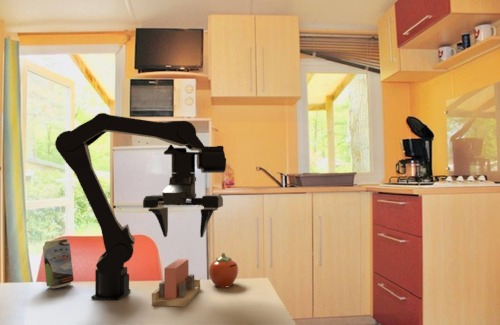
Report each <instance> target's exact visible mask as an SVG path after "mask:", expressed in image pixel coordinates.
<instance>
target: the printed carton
mask: <svg viewBox="0 0 500 325" xmlns="http://www.w3.org/2000/svg"><path fill="white" fill-rule="evenodd" d="M42 253H43V263H44V264H43V265H44V270H45V271H44V272H45V281H46V287H49V288H50V289H57V288H62V287H66V286H68V285H69V286H70V285H71V284H72V283H73V282H74V271H73V270H74V269H73V262H72V251H71V244H70V241H69V240H68V239H67V237H64V238H58V239H57V238H56V239H53V240H52V239H51V240H47V241H45V242H44V245H43V246H42Z"/></svg>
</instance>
